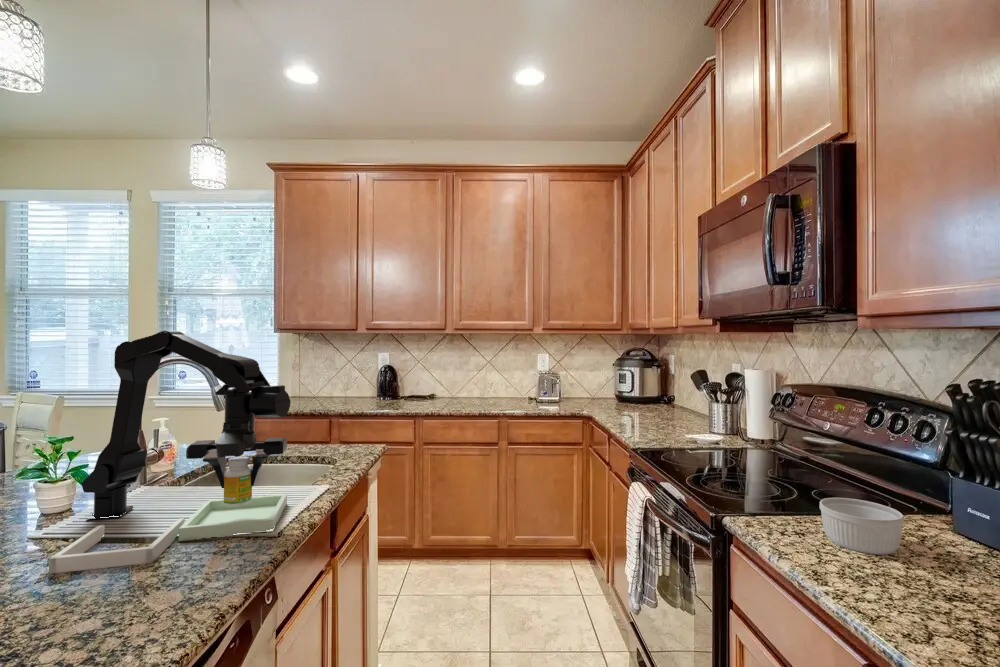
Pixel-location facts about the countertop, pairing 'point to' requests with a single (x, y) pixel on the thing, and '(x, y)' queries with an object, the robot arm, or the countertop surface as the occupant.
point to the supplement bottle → (237, 482)
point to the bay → (109, 552)
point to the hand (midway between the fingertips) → (238, 486)
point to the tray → (233, 518)
